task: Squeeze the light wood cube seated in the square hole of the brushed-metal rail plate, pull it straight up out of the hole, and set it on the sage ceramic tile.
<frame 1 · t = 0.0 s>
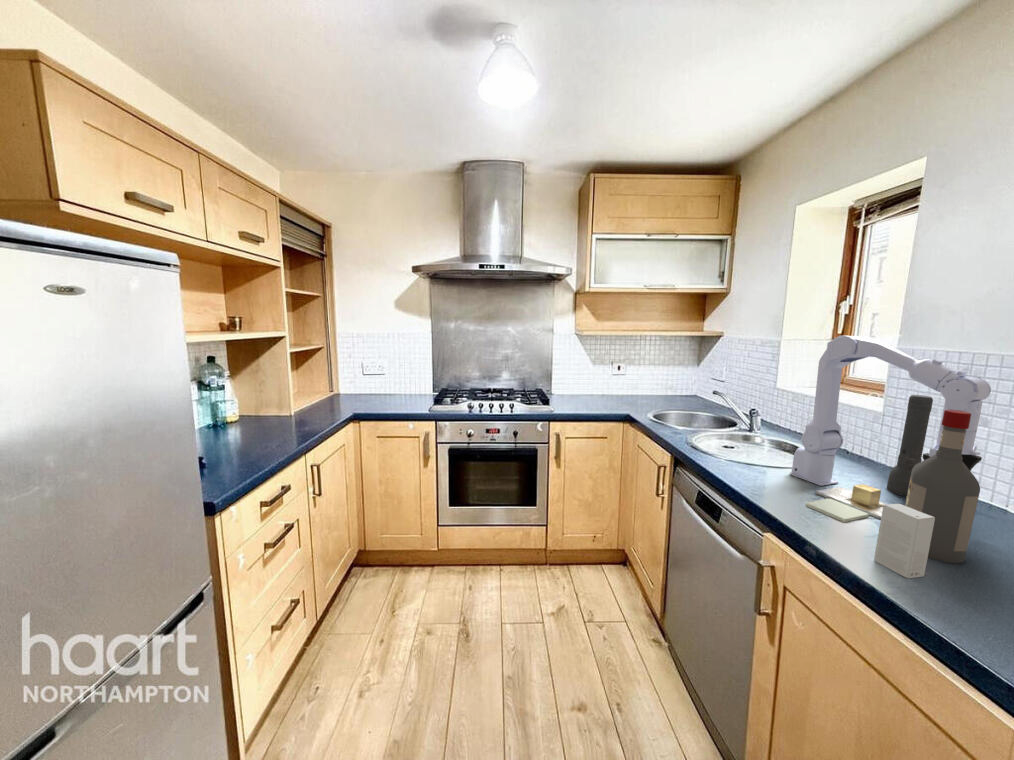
hand: (946, 484, 95), 10 cm above the worktop, fingers open, 7 cm apart
tile: (836, 511, 102), on the worktop
liquor: (929, 550, 85), on the worktop
light wood cube: (864, 505, 106), resting in rail plate
skincare box: (897, 569, 78), on the worktop
flashlight: (903, 492, 115), on the worktop
rail plate: (864, 505, 106), on the worktop
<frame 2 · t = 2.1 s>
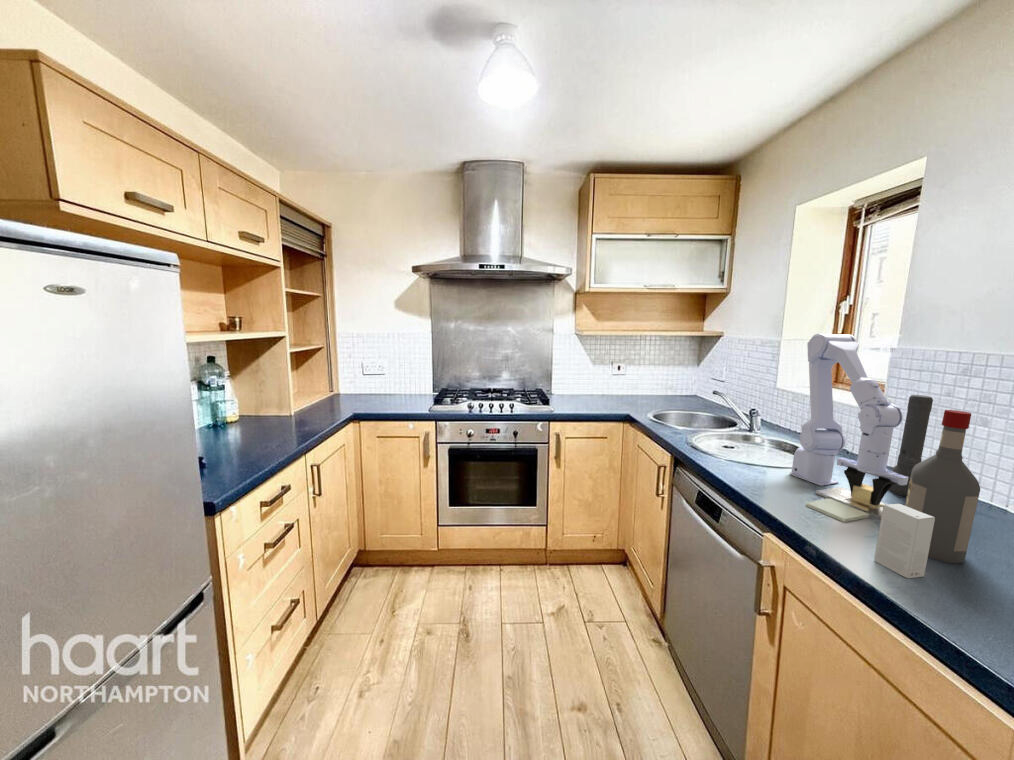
hand: (865, 500, 106), 1 cm above the worktop, fingers closed on light wood cube, 4 cm apart
light wood cube: (864, 505, 106), resting in rail plate, touching gripper
everything else where it was.
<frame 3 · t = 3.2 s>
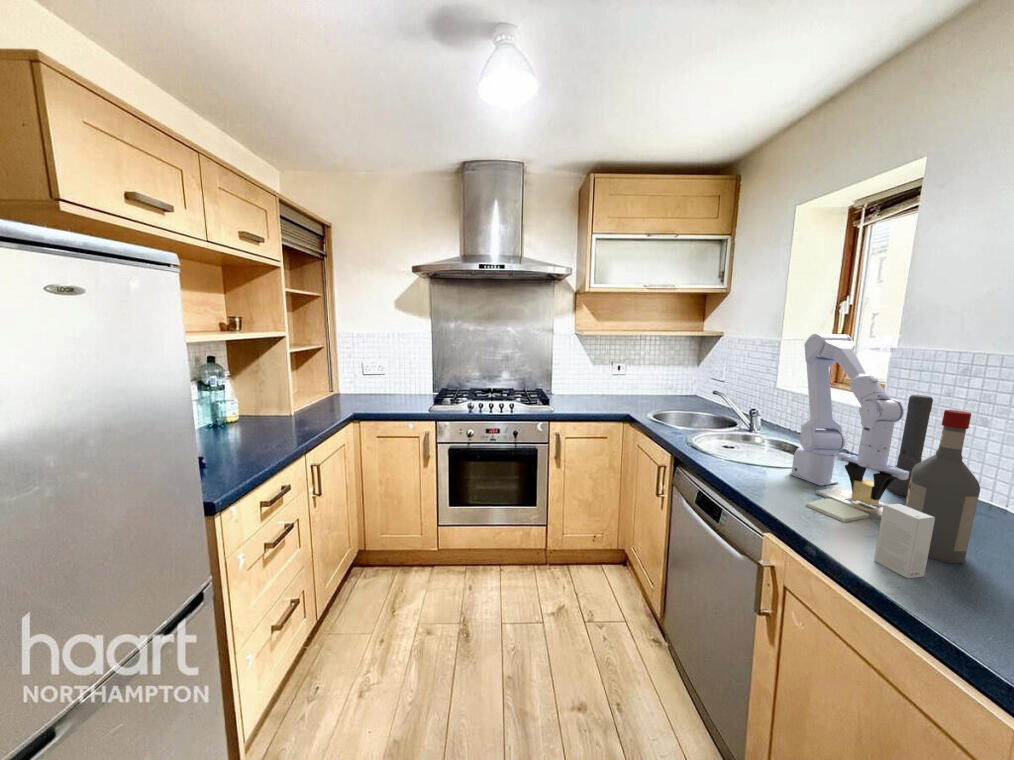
hand: (865, 495, 105), 3 cm above the worktop, fingers closed on light wood cube, 4 cm apart
light wood cube: (864, 500, 106), point 1 cm above the worktop, touching gripper
everything else where it was.
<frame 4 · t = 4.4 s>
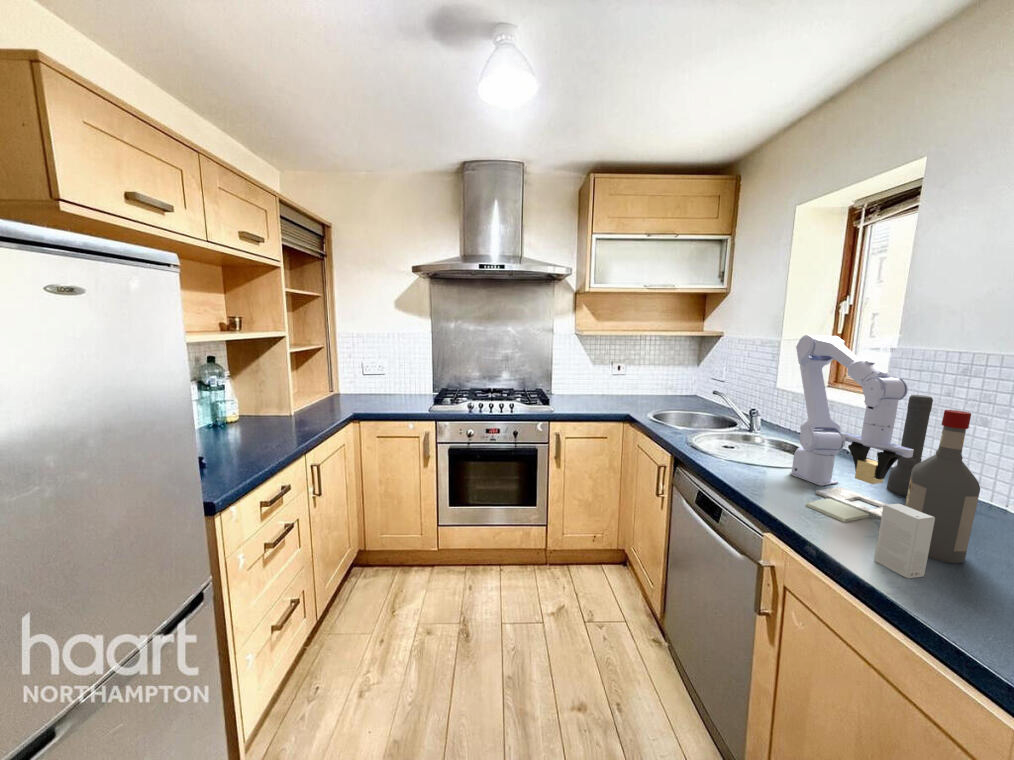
hand: (869, 475, 104), 8 cm above the worktop, fingers closed on light wood cube, 4 cm apart
light wood cube: (868, 480, 105), point 7 cm above the worktop, touching gripper
everything else where it was.
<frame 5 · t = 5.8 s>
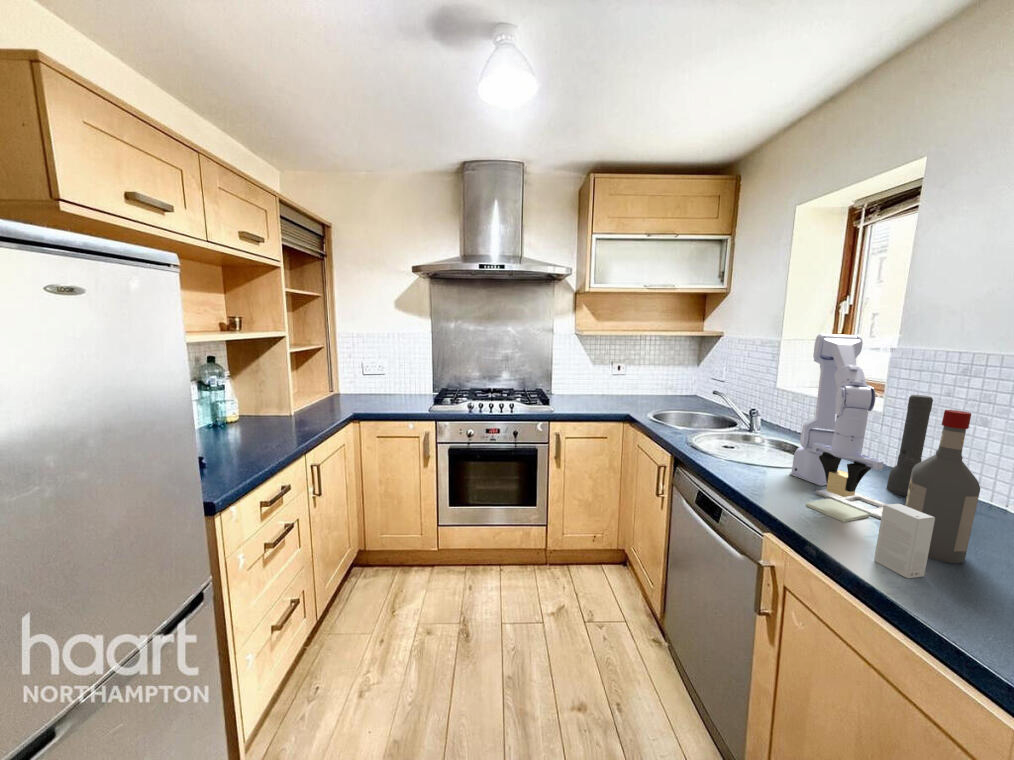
hand: (840, 487, 101), 6 cm above the worktop, fingers closed on light wood cube, 4 cm apart
light wood cube: (840, 492, 101), point 5 cm above the worktop, touching gripper
everything else where it was.
when the fingers open (3 cm above the worktop, at t = 7.1 s): light wood cube drops 1 cm, resting on tile.
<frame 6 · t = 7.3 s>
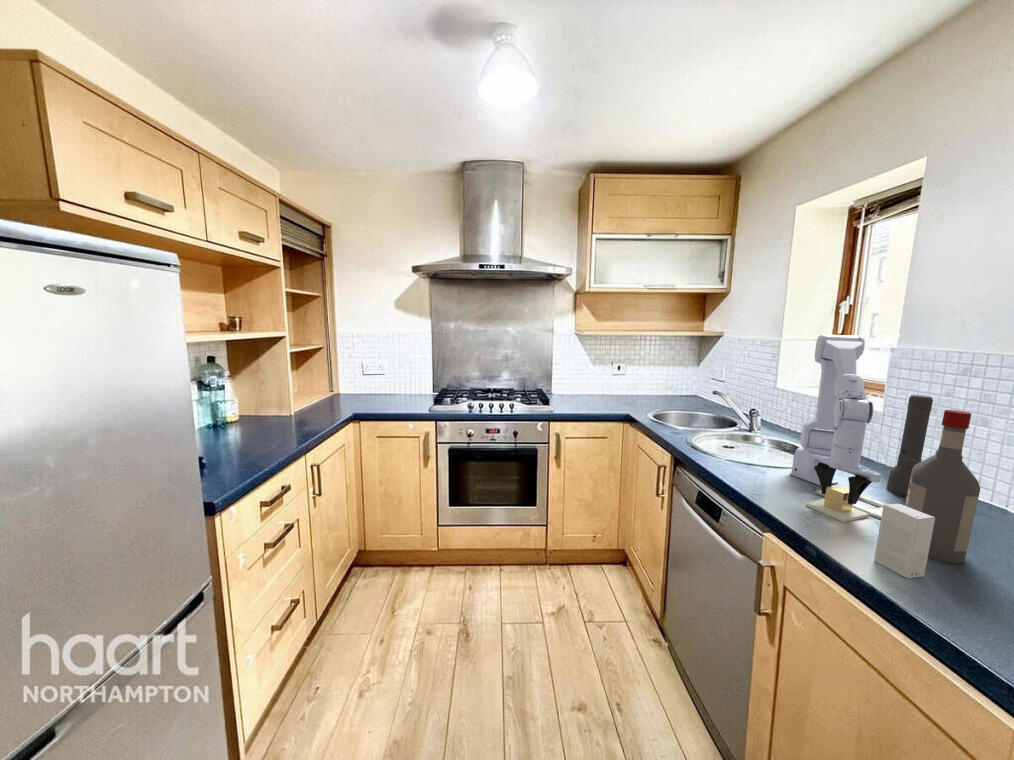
hand: (838, 498, 101), 3 cm above the worktop, fingers open, 5 cm apart
light wood cube: (837, 508, 102), point 1 cm above the worktop, touching tile
everything else where it was.
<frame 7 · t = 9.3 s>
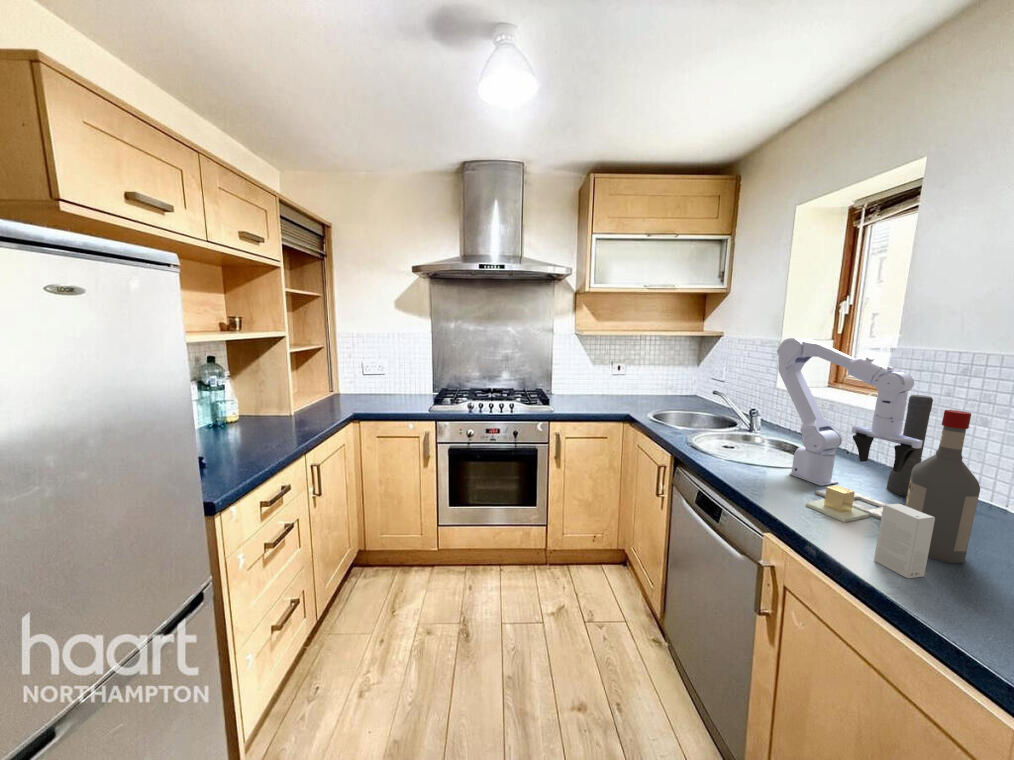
hand: (879, 465, 109), 9 cm above the worktop, fingers open, 7 cm apart
nothing on the worktop moved.
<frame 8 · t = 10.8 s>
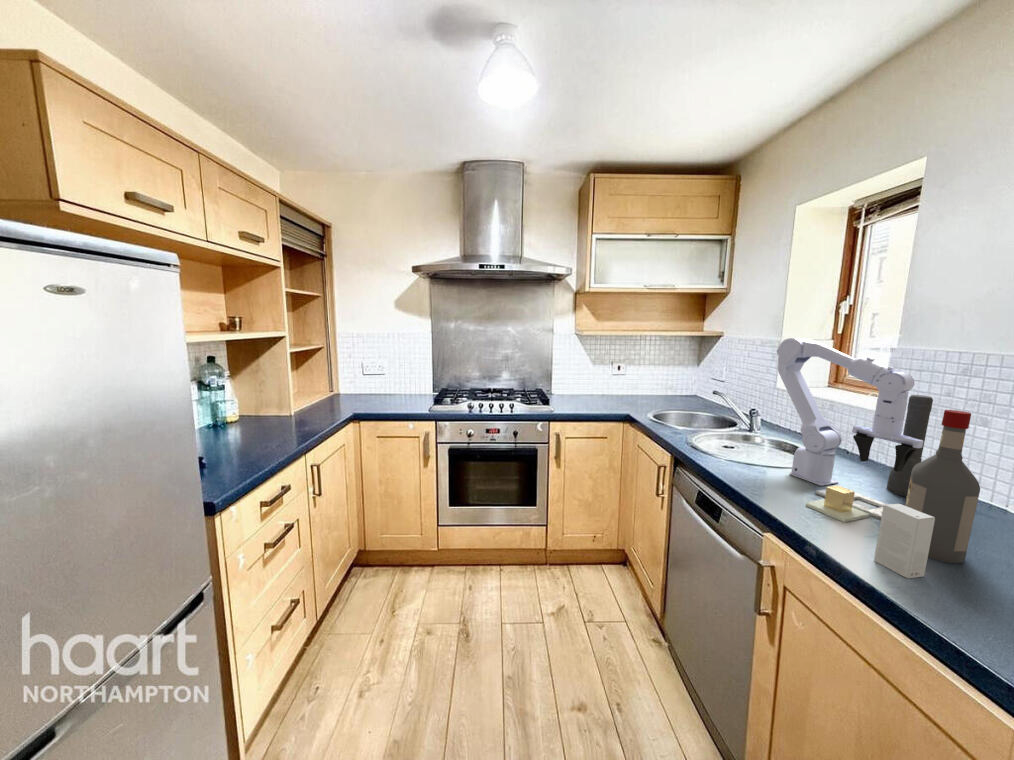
hand: (880, 465, 109), 9 cm above the worktop, fingers open, 7 cm apart
nothing on the worktop moved.
at the end: light wood cube 0.3 cm off-centre on the tile, point 0.8 cm above the tile's base; light wood cube tilted 0°; the gripper is holding nothing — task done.
